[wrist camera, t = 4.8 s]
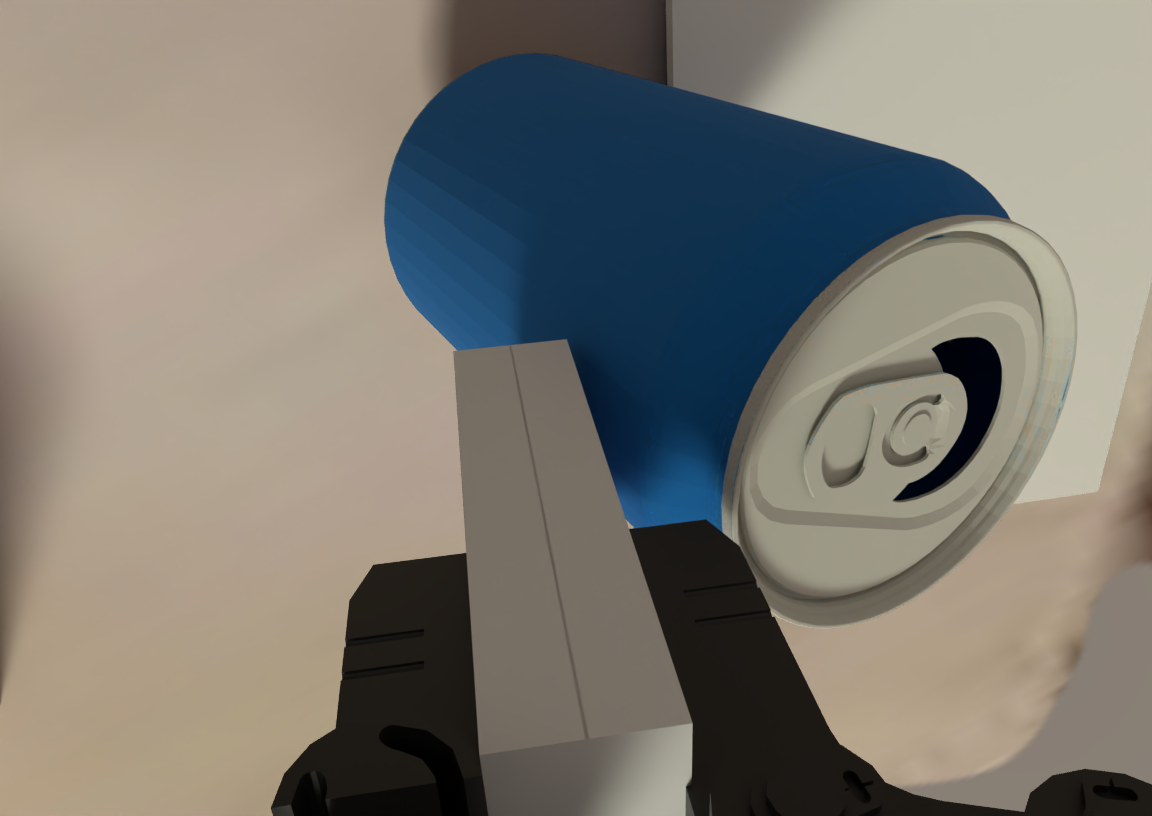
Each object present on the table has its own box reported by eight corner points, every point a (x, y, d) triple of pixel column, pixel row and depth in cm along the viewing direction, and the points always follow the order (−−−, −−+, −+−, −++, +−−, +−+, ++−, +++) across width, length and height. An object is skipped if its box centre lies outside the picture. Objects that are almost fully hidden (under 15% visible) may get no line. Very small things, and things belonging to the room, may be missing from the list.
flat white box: (658, -437, 17) (665, -448, 16) (1319, -467, 18) (1345, -477, 17) (675, 540, 27) (679, 552, 27) (1085, 481, 29) (1097, 491, 28)
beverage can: (624, 321, 24) (1019, 589, 14) (376, 353, 21) (669, 717, 11) (650, 51, 21) (1165, 167, 11) (367, 44, 18) (749, 192, 9)
